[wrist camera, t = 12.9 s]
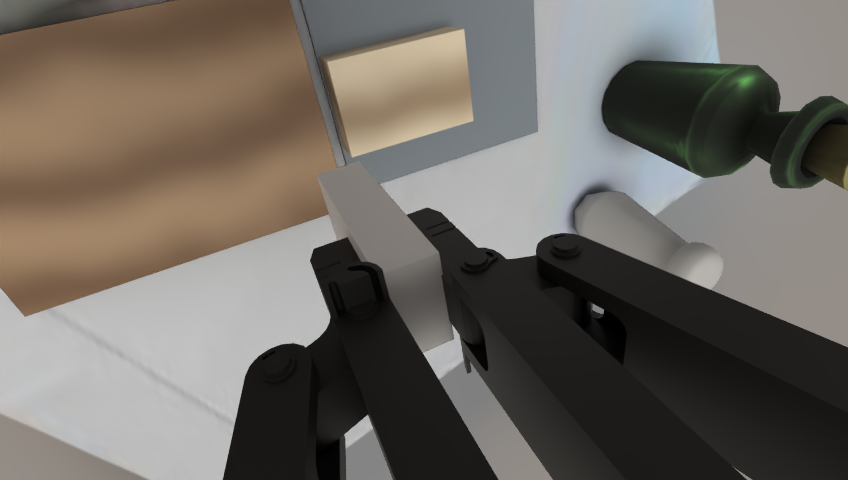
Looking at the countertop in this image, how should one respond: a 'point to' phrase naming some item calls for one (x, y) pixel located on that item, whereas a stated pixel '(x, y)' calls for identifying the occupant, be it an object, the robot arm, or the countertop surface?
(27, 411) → the countertop surface
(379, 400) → the robot arm
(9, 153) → the board
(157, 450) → the countertop surface
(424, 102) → the beech block
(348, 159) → the slate mat
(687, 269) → the salt shaker
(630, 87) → the potion bottle
